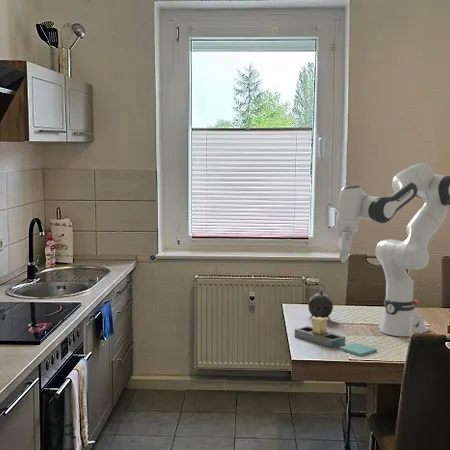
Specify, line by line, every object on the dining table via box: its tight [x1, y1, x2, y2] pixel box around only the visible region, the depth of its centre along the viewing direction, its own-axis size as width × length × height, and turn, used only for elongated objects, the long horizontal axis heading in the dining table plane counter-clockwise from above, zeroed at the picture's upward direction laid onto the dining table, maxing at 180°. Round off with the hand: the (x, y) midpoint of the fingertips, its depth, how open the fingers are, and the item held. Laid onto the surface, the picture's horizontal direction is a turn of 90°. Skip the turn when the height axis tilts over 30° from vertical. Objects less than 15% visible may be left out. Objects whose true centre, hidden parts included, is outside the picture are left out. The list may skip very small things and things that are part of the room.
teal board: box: [339, 342, 378, 357], centre depth 247 cm, size 10×10×1 cm
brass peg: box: [312, 317, 328, 336], centre depth 259 cm, size 4×4×9 cm
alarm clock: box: [307, 284, 334, 321], centre depth 290 cm, size 11×5×16 cm, turn 84°
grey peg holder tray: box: [294, 325, 346, 349], centre depth 260 cm, size 8×20×3 cm, turn 40°
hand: (342, 261), depth 253 cm, fingers open, 8 cm apart
